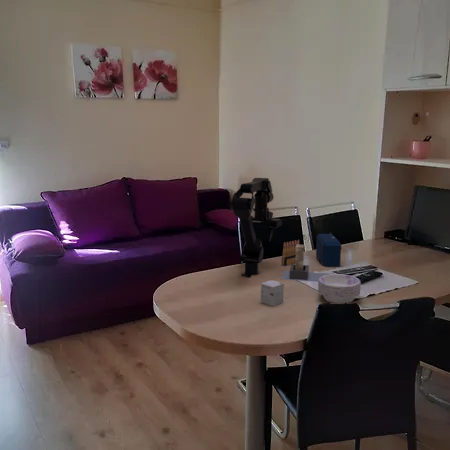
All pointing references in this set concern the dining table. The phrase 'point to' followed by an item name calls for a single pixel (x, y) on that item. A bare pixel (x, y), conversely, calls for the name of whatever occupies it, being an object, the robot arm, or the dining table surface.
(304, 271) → the end cap
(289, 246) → the ammunition clip
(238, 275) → the dining table surface
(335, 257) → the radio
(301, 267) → the slat
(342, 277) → the paper bowls
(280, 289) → the skincare box
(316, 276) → the base board
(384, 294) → the dining table surface
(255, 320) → the dining table surface
